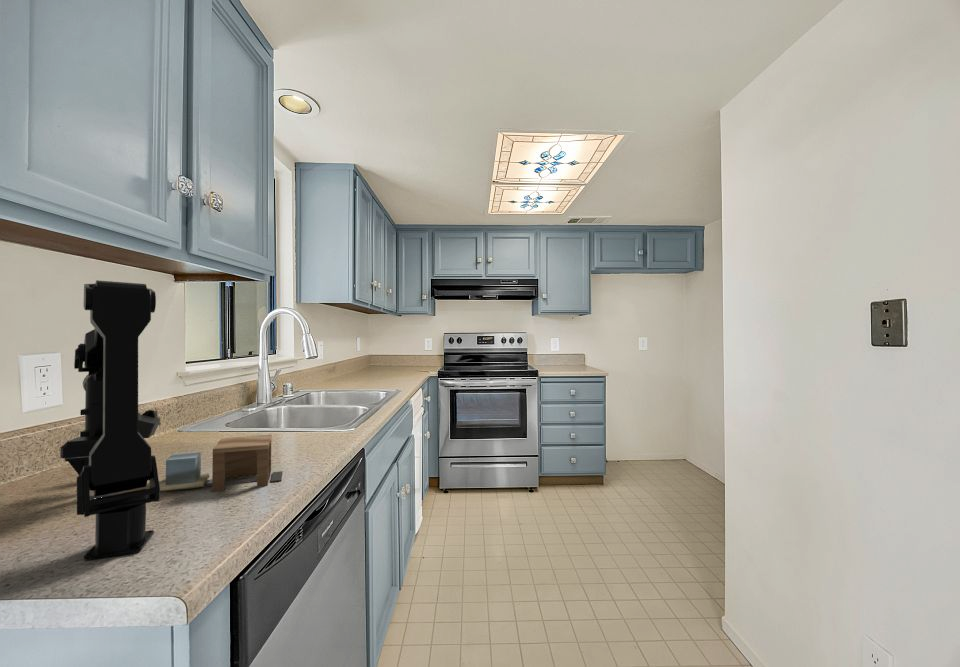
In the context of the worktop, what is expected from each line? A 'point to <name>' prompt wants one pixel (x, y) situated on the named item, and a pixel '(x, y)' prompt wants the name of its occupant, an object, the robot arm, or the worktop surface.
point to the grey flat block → (276, 476)
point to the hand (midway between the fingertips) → (104, 482)
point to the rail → (207, 483)
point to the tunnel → (241, 459)
